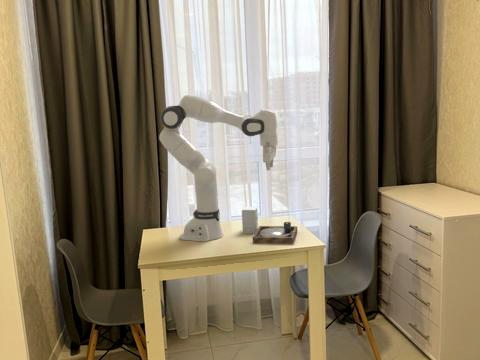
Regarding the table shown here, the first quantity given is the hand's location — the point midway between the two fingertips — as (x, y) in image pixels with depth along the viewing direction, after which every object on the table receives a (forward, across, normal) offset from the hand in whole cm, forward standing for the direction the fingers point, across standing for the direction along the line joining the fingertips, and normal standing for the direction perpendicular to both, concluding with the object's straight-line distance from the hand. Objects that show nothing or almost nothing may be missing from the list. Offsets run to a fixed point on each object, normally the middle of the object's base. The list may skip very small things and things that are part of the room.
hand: (269, 168), depth 251 cm
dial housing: (+34, -8, -3) cm, 35 cm away
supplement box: (+34, +2, +12) cm, 36 cm away
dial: (+33, -8, -3) cm, 34 cm away
